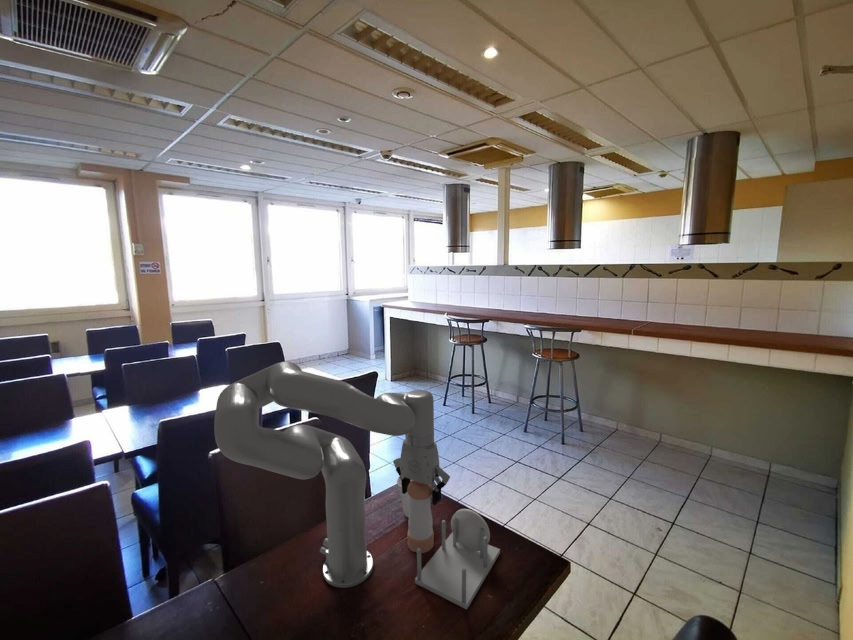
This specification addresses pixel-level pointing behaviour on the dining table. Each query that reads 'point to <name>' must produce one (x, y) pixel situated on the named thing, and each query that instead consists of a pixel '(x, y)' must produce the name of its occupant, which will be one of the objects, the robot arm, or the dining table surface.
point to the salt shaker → (420, 517)
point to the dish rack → (459, 559)
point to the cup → (404, 499)
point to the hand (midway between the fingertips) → (421, 496)
